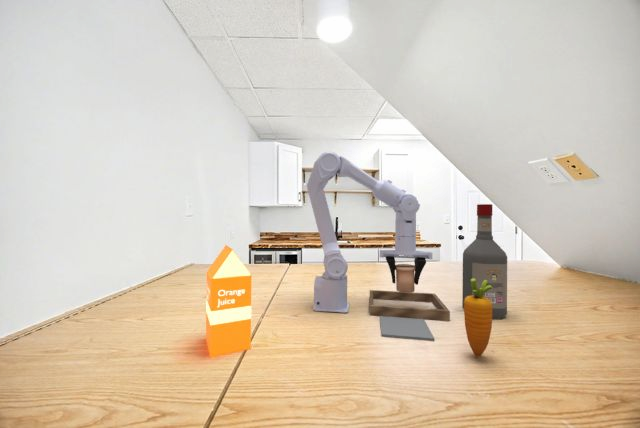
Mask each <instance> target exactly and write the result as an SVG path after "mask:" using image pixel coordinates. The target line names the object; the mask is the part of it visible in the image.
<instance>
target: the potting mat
mask: <svg viewBox="0 0 640 428" xmlns="http://www.w3.org/2000/svg"><path fill="white" fill-rule="evenodd" d="M379 325H380V331H381V332H380V333H381V337H384V338H385V337H386V338H394V339H408V340H417V341H419V340H420V341H430V342H431V341H432V342H434V341H435V337H434V335H433V333H432V332H431V329H430V328H429V325H428V324H427V322H426V319H414V318H400V317H386V316H379Z"/></svg>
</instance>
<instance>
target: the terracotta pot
mask: <svg viewBox="0 0 640 428" xmlns="http://www.w3.org/2000/svg"><path fill="white" fill-rule="evenodd" d="M415 270H416V266H415V264H411V263H410V264H408V263H398V264H395V285H396V288H395V289H396V290H395V291H397V292H405V293H410V292H415V291H416V289H415V283H414V276H415Z"/></svg>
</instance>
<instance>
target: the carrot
mask: <svg viewBox="0 0 640 428" xmlns="http://www.w3.org/2000/svg"><path fill="white" fill-rule="evenodd" d="M470 282H471V286H472V290H473V293H474V295H472V296H467V297H466V298H465V300H464V308H463V310H464V311H463V312H464V314H463V315H464V327H465V333H466V338H467V341H468V343H469V347H470V349H471V350H472V353H473V354H474V356H475V357H476V358H480V357H481V356H482V355H483V354H484V352H485V351H486V349H487V347H488V345H489V341H490V337H491V332H492V326H493V319H492V310H493V308H492V303H491V301H490V300H489V299H488V298H485V297H483V295H484V294H485V293H486V292H487V291H488V290H489V289H492V287H491V286H490V285H489V286H486V284H487V282H488V281H487V280H484V281H483V283H482V286H481V288H480V289H479V290H478V287H477V284H476V280H475V279H474V278H473V279H471V281H470ZM485 286H486V287H485Z"/></svg>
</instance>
